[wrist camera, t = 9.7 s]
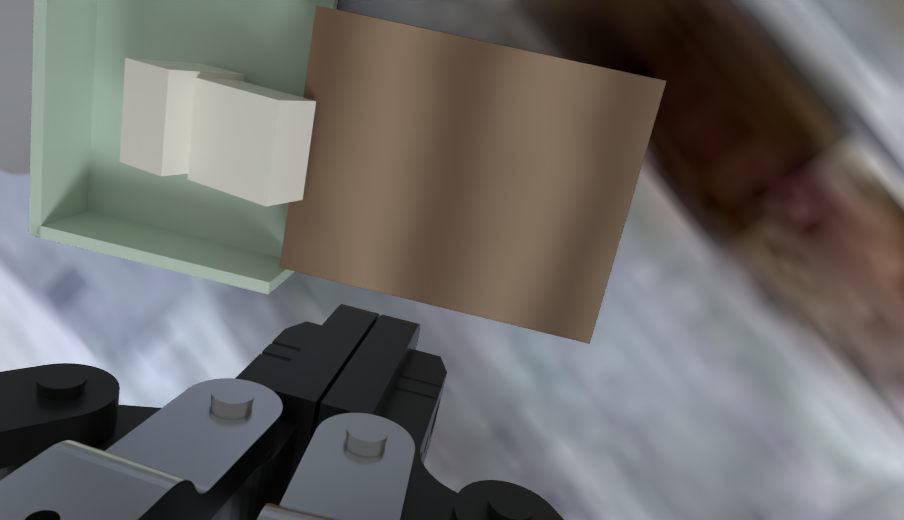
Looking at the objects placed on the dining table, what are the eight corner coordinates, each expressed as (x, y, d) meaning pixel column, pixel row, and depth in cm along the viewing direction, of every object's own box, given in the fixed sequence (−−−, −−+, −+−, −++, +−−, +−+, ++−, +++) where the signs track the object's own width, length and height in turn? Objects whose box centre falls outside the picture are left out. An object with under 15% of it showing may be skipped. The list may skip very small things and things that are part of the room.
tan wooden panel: (655, 78, 31) (666, 81, 29) (586, 320, 35) (589, 343, 32) (336, 9, 32) (315, 4, 30) (300, 250, 36) (279, 267, 33)
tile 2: (169, 69, 28) (125, 57, 29) (160, 176, 30) (119, 161, 31) (244, 74, 32) (204, 63, 33) (234, 168, 34) (196, 155, 35)
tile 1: (316, 101, 30) (279, 100, 28) (302, 199, 32) (266, 206, 30) (236, 79, 32) (196, 77, 30) (227, 174, 33) (187, 179, 31)
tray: (340, -14, 32) (311, -23, 28) (298, 269, 36) (267, 294, 32) (96, -66, 33) (35, -82, 29) (83, 216, 37) (28, 234, 33)
